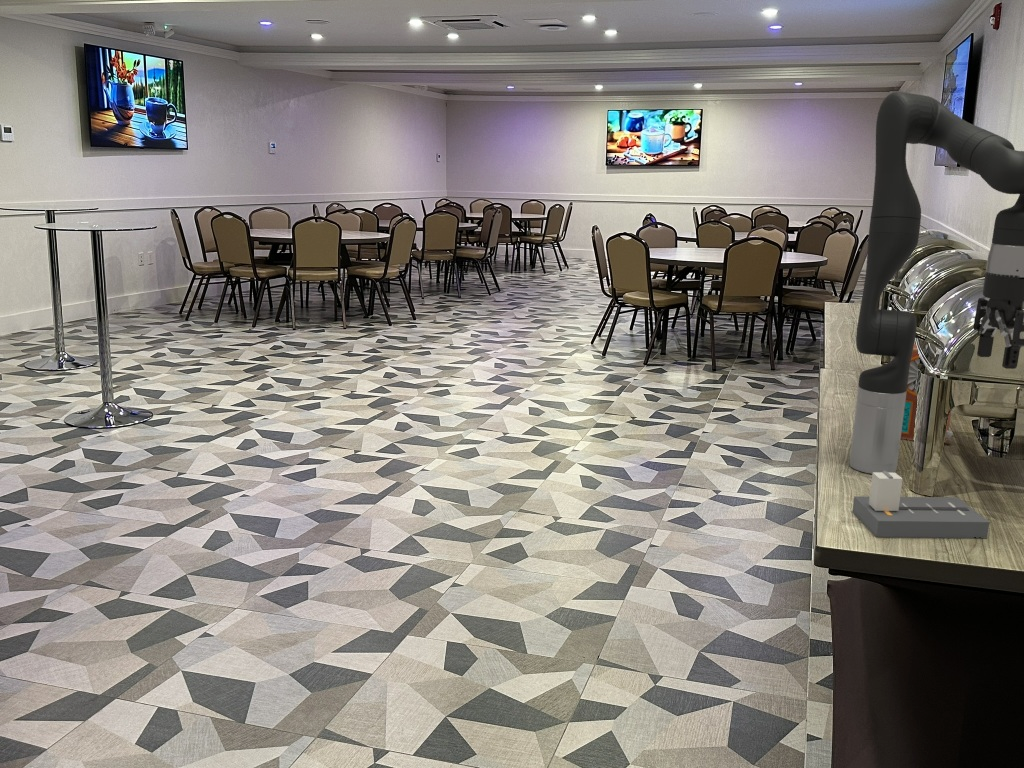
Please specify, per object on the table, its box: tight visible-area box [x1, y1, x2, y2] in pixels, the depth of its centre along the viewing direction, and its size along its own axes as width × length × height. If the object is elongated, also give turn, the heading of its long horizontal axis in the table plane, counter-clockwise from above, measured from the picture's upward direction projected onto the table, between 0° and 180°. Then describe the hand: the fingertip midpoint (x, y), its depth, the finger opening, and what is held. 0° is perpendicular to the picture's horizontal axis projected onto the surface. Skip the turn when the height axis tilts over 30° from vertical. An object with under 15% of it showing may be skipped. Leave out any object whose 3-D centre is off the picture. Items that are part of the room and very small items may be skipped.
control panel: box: [889, 343, 956, 443], centre depth 201 cm, size 21×7×15 cm
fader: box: [869, 471, 903, 511], centre depth 155 cm, size 3×4×6 cm
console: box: [852, 496, 991, 539], centre depth 156 cm, size 11×19×3 cm, turn 90°
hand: (996, 362), depth 156 cm, fingers open, 8 cm apart
